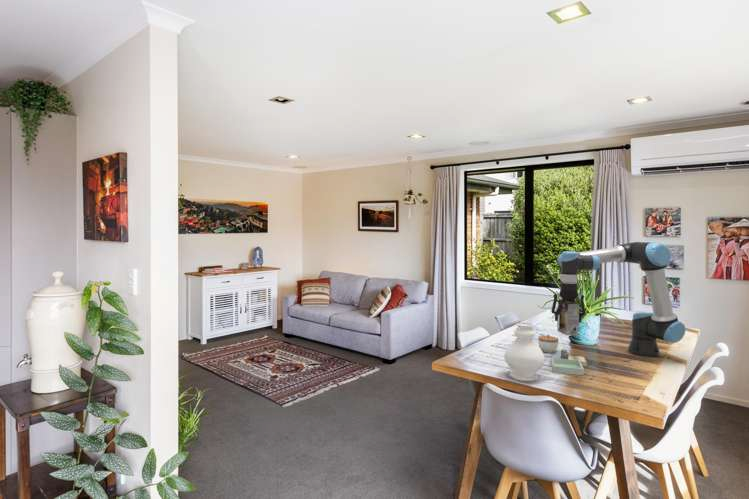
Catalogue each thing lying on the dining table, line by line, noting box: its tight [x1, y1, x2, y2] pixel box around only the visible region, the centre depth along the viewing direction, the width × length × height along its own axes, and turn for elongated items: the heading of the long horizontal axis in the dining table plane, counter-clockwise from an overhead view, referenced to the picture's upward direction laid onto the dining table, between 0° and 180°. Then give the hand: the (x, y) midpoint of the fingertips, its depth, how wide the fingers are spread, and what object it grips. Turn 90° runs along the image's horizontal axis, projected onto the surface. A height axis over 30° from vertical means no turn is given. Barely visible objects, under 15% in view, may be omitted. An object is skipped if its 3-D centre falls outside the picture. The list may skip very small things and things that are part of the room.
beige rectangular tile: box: [568, 355, 588, 367], centre depth 228 cm, size 8×10×2 cm
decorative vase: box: [504, 322, 546, 382], centre depth 206 cm, size 18×18×25 cm
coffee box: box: [557, 299, 580, 336], centre depth 216 cm, size 9×6×16 cm
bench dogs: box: [560, 349, 570, 359], centre depth 230 cm, size 3×9×5 cm, turn 162°
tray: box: [550, 357, 585, 376], centre depth 217 cm, size 14×15×3 cm
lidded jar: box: [537, 334, 559, 354], centre depth 248 cm, size 11×11×9 cm
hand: (567, 328), depth 216 cm, fingers closed on coffee box, 8 cm apart
